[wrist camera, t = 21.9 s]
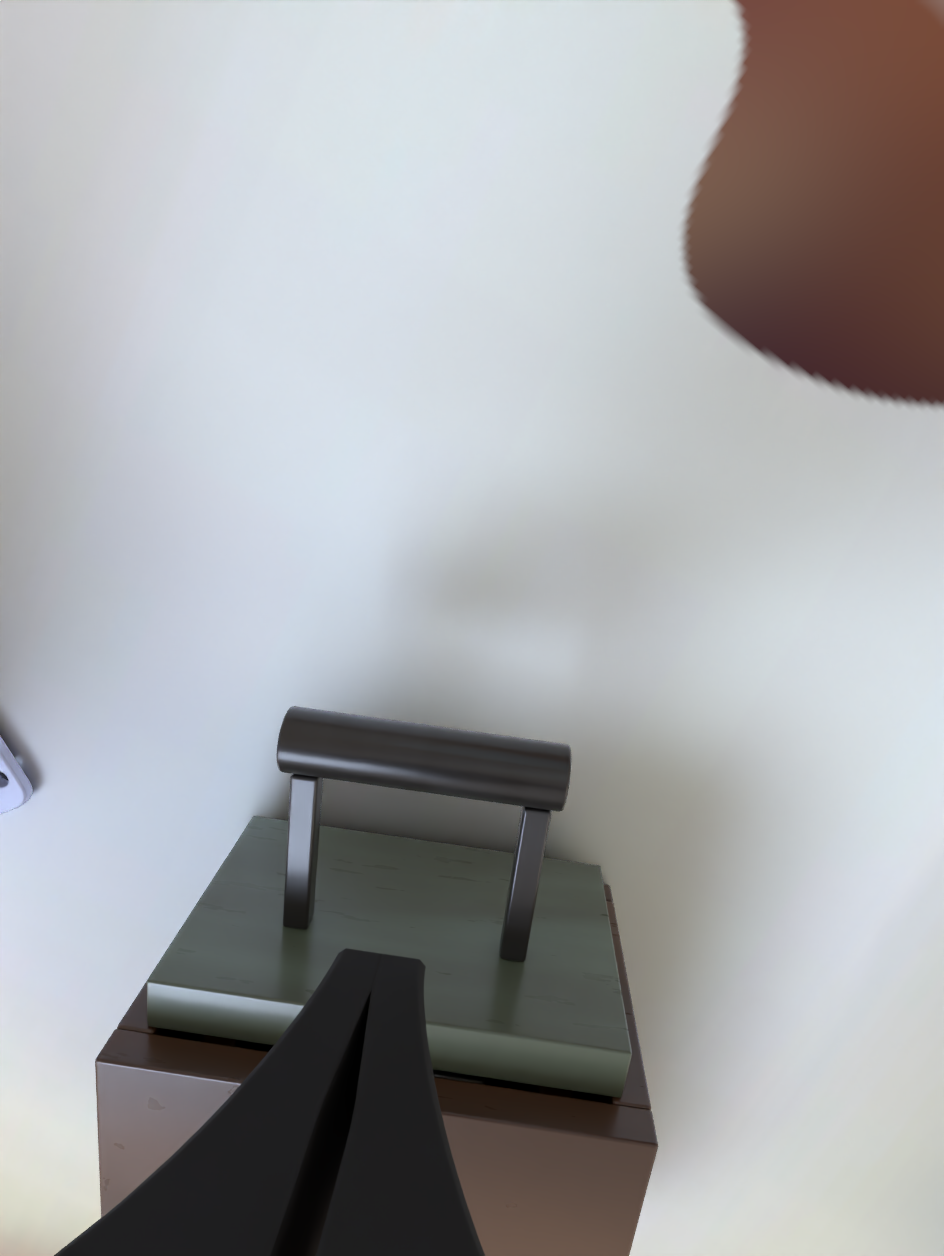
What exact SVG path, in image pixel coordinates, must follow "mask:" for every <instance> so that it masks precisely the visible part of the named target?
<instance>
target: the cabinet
mask: <svg viewBox="0 0 944 1256" xmlns="http://www.w3.org/2000/svg"><path fill="white" fill-rule="evenodd" d="M603 885H604V891H605V897H606V903H607V909H608V915H609V921H610V927H611V932H612V938H613V944H614V950H615V956H616V962H617V968H618V974H619V980H620V985H621V991H622V997H623V1003H624V1009H625V1015H626V1021H627V1027H628V1032H629V1038H630V1044H631V1050H632V1056H631V1061H630V1065H629V1069H628V1073H627V1077H626V1081H625V1086H624V1090H623V1094H622V1097H620V1098H618V1097H611V1096H604V1095H598V1094H591V1093H585V1092H578V1091H573V1096H574V1098H569V1097H562V1096H556V1095H549V1094H543V1093H536V1092H530V1091H523V1090H516V1089H510V1088H503V1087H497V1086H490V1085H483V1084H477V1083H470V1082H464V1081H457V1080H451V1079H444V1078H437V1077H434V1080H435V1086H436V1090H437V1095H438V1100H439V1105H440V1109H441V1113H442V1117H443V1121H444V1126H445V1130H446V1134H447V1138H448V1142H449V1145H450V1149H451V1153H452V1157H453V1160H454V1164H455V1167H456V1171H457V1174H458V1177H459V1180H460V1183H461V1187H462V1190H463V1193H464V1196H465V1200H466V1203H467V1206H468V1209H469V1211H470V1214H471V1217H472V1220H473V1223H474V1226H475V1229H476V1232H477V1235H478V1238H479V1241H480V1243H481V1246H482V1248H483V1251H484V1253H485V1256H629V1253H630V1250H631V1246H632V1242H633V1238H634V1235H635V1231H636V1227H637V1223H638V1220H639V1216H640V1212H641V1208H642V1205H643V1201H644V1197H645V1193H646V1190H647V1186H648V1182H649V1178H650V1175H651V1171H652V1167H653V1163H654V1160H655V1156H656V1152H657V1148H658V1142H657V1137H656V1132H655V1126H654V1121H653V1115H652V1112H651V1104H650V1099H649V1093H648V1088H647V1082H646V1077H645V1072H644V1066H643V1061H642V1055H641V1050H640V1044H639V1039H638V1034H637V1028H636V1023H635V1017H634V1012H633V1006H632V1001H631V995H630V990H629V985H628V979H627V974H626V968H625V963H624V957H623V952H622V947H621V941H620V936H619V930H618V925H617V919H616V914H615V908H614V903H613V899H612V894H611V889H610V886H609V885H605V884H603ZM202 1037H203V1034H196V1033H189V1032H183V1031H176V1030H170V1029H163V1028H156V1027H150V1026H148V1025H147V982H146V983H145V985H144V986H143V988H142V989H141V991H140V992H139V994H138V996H137V997H136V999H135V1000H134V1002H133V1003H132V1005H131V1006H130V1008H129V1010H128V1011H127V1013H126V1014H125V1016H124V1017H123V1019H122V1020H121V1022H120V1023H119V1025H118V1027H117V1029H116V1030H114V1032H113V1033H112V1035H111V1037H110V1038H109V1040H108V1041H107V1043H106V1044H105V1046H104V1047H103V1049H102V1050H101V1052H100V1054H99V1055H98V1057H97V1058H96V1061H95V1066H96V1092H97V1118H98V1144H99V1170H100V1196H101V1218H102V1217H103V1216H104V1215H106V1214H107V1213H108V1212H109V1211H110V1210H112V1209H113V1208H114V1207H115V1206H116V1205H118V1204H119V1203H120V1202H121V1201H122V1200H123V1199H124V1198H126V1197H127V1196H128V1195H129V1194H130V1193H131V1192H133V1191H134V1190H135V1189H136V1188H137V1187H138V1186H139V1185H140V1184H141V1183H142V1182H144V1181H145V1180H146V1179H147V1178H148V1177H149V1176H150V1175H151V1174H152V1173H153V1172H155V1171H156V1170H157V1169H158V1168H159V1167H160V1166H161V1165H162V1164H163V1163H164V1162H165V1161H167V1160H168V1159H169V1158H170V1157H171V1156H172V1155H173V1154H174V1153H175V1152H176V1151H177V1150H178V1149H179V1148H180V1147H181V1146H182V1145H183V1144H184V1143H185V1142H186V1141H187V1140H188V1139H189V1138H190V1137H191V1136H192V1135H194V1134H195V1133H196V1132H197V1131H198V1130H199V1129H200V1128H201V1127H202V1126H203V1125H204V1123H205V1122H206V1121H207V1120H208V1119H209V1118H210V1117H211V1116H212V1115H213V1114H214V1113H215V1112H216V1111H217V1110H218V1109H219V1108H220V1107H221V1106H222V1105H223V1104H224V1102H225V1101H226V1100H227V1099H228V1098H229V1097H230V1096H231V1095H232V1094H233V1093H234V1091H235V1090H236V1089H237V1088H238V1087H239V1086H240V1085H241V1083H242V1082H243V1081H244V1080H245V1079H246V1078H247V1077H248V1075H249V1074H250V1073H251V1072H252V1071H253V1070H254V1068H255V1067H256V1066H257V1065H258V1064H259V1063H260V1062H261V1060H262V1059H263V1058H264V1057H265V1056H266V1055H267V1053H268V1052H266V1051H260V1050H253V1049H247V1048H240V1047H234V1046H227V1045H220V1044H214V1043H207V1042H201V1039H202Z"/></svg>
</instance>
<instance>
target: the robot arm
mask: <svg viewBox="0 0 944 1256" xmlns="http://www.w3.org/2000/svg"><path fill="white" fill-rule="evenodd" d="M0 772H2V773H4V774H5V775H6V776H7V778H8V780H5V779H4V778H3V777H2V776H1V774H0V814H2V813H5V812H7V811H10V810H13V809H15V808H18V807H20V806H21V805H23V804H24V803H25V802H27V801H28V800H29V799H30V798H31V796H32V794H33V788H32V785H31V783H30V781H29V780H28V778H27V776H26V775H25V773H24V772H23V770H22V769H21V767H20V765H19V764H18V762H17V761H16V759H15V758H14V756H13V755H12V753H11V751H10V750H9V748H8V747H7V745H6V744H5V742H4V741H3V739H2V737H1V736H0ZM425 968H426V966H425V965H424V964H423V962H422V961H421V960H420V959H415V958H408V957H401V956H395V955H388V954H381V953H374V952H368V951H361V950H354V949H347V948H345V949H344V950H342V951H341V952H339V953H338V955H337V956H336V958H335V960H334V962H333V964H332V965H331V967H330V968H329V970H328V972H327V973H326V975H325V976H324V978H323V980H322V981H321V983H320V984H319V986H318V987H317V988H316V990H315V991H314V993H313V994H312V996H311V997H310V998H309V1000H308V1001H307V1003H306V1004H305V1005H304V1007H303V1008H302V1010H301V1011H300V1012H299V1014H298V1015H297V1016H296V1018H295V1019H294V1020H293V1021H292V1023H291V1024H290V1025H289V1027H288V1028H287V1029H286V1031H285V1032H284V1033H283V1034H282V1036H281V1037H280V1038H279V1040H278V1041H277V1042H276V1043H275V1045H274V1046H273V1047H272V1048H271V1050H270V1051H269V1052H268V1053H267V1055H266V1056H265V1057H264V1058H263V1059H262V1060H261V1062H260V1063H259V1064H258V1065H257V1066H256V1067H255V1068H254V1070H253V1071H252V1072H251V1073H250V1074H249V1075H248V1077H247V1078H246V1079H245V1080H244V1081H243V1082H242V1083H241V1085H240V1086H239V1087H238V1088H237V1089H236V1090H235V1091H234V1093H233V1094H232V1095H231V1096H230V1097H229V1098H228V1099H227V1100H226V1101H225V1102H224V1104H223V1105H222V1106H221V1107H220V1108H219V1109H218V1110H217V1111H216V1112H215V1113H214V1114H213V1115H212V1116H211V1117H210V1118H209V1119H208V1120H207V1121H206V1122H205V1123H204V1125H203V1126H202V1127H201V1128H200V1129H199V1130H198V1131H197V1132H196V1133H195V1134H194V1135H192V1136H191V1137H190V1138H189V1139H188V1140H187V1141H186V1142H185V1143H184V1144H183V1145H182V1146H181V1147H180V1148H179V1149H178V1150H177V1151H176V1152H175V1153H174V1154H173V1155H172V1156H171V1157H170V1158H169V1159H168V1160H167V1161H165V1162H164V1163H163V1164H162V1165H161V1166H160V1167H159V1168H158V1169H157V1170H156V1171H155V1172H153V1173H152V1174H151V1175H150V1176H149V1177H148V1178H147V1179H146V1180H145V1181H144V1182H142V1183H141V1184H140V1185H139V1186H138V1187H137V1188H136V1189H135V1190H134V1191H133V1192H131V1193H130V1194H129V1195H128V1196H127V1197H126V1198H124V1199H123V1200H122V1201H121V1202H120V1203H119V1204H118V1205H116V1206H115V1207H114V1208H113V1209H112V1210H110V1211H109V1212H108V1213H107V1214H106V1215H104V1216H103V1217H102V1218H101V1219H99V1220H98V1221H97V1222H96V1223H94V1224H93V1225H92V1226H91V1227H89V1228H88V1229H87V1230H86V1231H84V1232H83V1233H82V1234H81V1235H79V1236H78V1237H77V1238H75V1239H74V1240H73V1241H72V1242H70V1243H69V1244H68V1245H67V1246H65V1247H64V1248H63V1249H62V1250H60V1251H59V1252H58V1253H57V1254H55V1255H54V1256H485V1253H484V1251H483V1248H482V1246H481V1243H480V1241H479V1238H478V1235H477V1232H476V1229H475V1226H474V1223H473V1220H472V1217H471V1214H470V1211H469V1209H468V1206H467V1203H466V1200H465V1196H464V1193H463V1190H462V1187H461V1183H460V1180H459V1177H458V1174H457V1171H456V1167H455V1164H454V1160H453V1157H452V1153H451V1149H450V1145H449V1142H448V1138H447V1134H446V1130H445V1126H444V1121H443V1117H442V1113H441V1109H440V1105H439V1100H438V1095H437V1090H436V1086H435V1080H434V1074H433V1069H432V1063H431V1057H430V1051H429V1045H428V1038H427V1030H426V1019H425V1007H424V976H425Z"/></svg>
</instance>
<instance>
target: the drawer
mask: <svg viewBox="0 0 944 1256" xmlns="http://www.w3.org/2000/svg"><path fill="white" fill-rule="evenodd" d="M277 765H278V768H279V770H280V771H281V772H285V773H292V776H291V780H290V798H289V816H288V821H287V820H280V819H273V818H266V817H259V816H253V818H252V819H251V821H250V822H249V824H248V825H247V827H246V828H245V830H244V832H243V833H242V835H241V836H240V838H239V839H238V841H237V842H236V844H235V846H234V847H233V849H232V850H231V852H230V853H229V855H228V856H227V858H226V859H225V861H224V863H223V864H222V866H221V867H220V869H219V870H218V872H217V873H216V875H215V876H214V878H213V880H212V881H211V883H210V884H209V886H208V887H207V889H206V890H205V892H204V893H203V895H202V897H201V898H200V900H199V901H198V903H197V904H196V906H195V907H194V909H193V910H192V912H191V914H190V915H189V917H188V918H187V920H186V921H185V923H184V924H183V926H182V927H181V929H180V931H179V932H178V934H177V935H176V937H175V938H174V940H173V941H172V943H171V944H170V946H169V948H168V949H167V951H166V952H165V954H164V955H163V957H162V958H161V960H160V961H159V963H158V965H157V966H156V968H155V969H154V971H153V972H152V974H151V975H150V977H149V978H148V980H147V1025H148V1026H150V1027H156V1028H163V1029H170V1030H176V1031H183V1032H189V1033H196V1034H203V1037H202V1039H201V1042H207V1043H214V1044H220V1045H227V1046H234V1047H240V1048H247V1049H253V1050H260V1051H266V1052H269V1051H270V1050H271V1048H272V1047H273V1046H274V1045H275V1043H276V1042H277V1041H278V1040H279V1038H280V1037H281V1036H282V1034H283V1033H284V1032H285V1031H286V1029H287V1028H288V1027H289V1025H290V1024H291V1023H292V1021H293V1020H294V1019H295V1018H296V1016H297V1015H298V1014H299V1012H300V1011H301V1010H302V1008H303V1007H304V1005H305V1004H306V1003H307V1001H308V1000H309V998H310V997H311V996H312V994H313V993H314V991H315V990H316V988H317V987H318V986H319V984H320V983H321V981H322V980H323V978H324V976H325V975H326V973H327V972H328V970H329V968H330V967H331V965H332V964H333V962H334V960H335V958H336V956H337V955H338V953H339V952H341V951H342V950H344V949H345V948H347V949H354V950H361V951H368V952H374V953H381V954H388V955H395V956H401V957H408V958H415V959H420V960H421V961H422V962H423V964H424V965H425V966H426V968H425V976H424V1007H425V1019H426V1030H427V1038H428V1045H429V1051H430V1057H431V1063H432V1069H433V1070H440V1071H446V1072H453V1073H459V1074H466V1075H473V1076H479V1077H485V1080H484V1085H490V1086H497V1087H503V1088H510V1089H516V1090H523V1091H530V1092H536V1093H543V1094H549V1095H556V1096H562V1097H569V1098H574V1096H573V1091H578V1092H585V1093H591V1094H598V1095H604V1096H611V1097H618V1098H620V1097H622V1094H623V1090H624V1086H625V1081H626V1077H627V1073H628V1069H629V1065H630V1061H631V1056H632V1050H631V1044H630V1038H629V1032H628V1027H627V1021H626V1015H625V1009H624V1003H623V997H622V991H621V985H620V980H619V974H618V968H617V962H616V956H615V950H614V944H613V938H612V932H611V927H610V921H609V915H608V909H607V903H606V897H605V891H604V885H603V880H602V874H601V868H600V866H599V865H592V864H585V863H579V862H572V861H565V860H558V859H551V858H544V853H545V847H546V842H547V836H548V830H549V825H550V819H551V810H552V811H562V810H563V808H564V806H565V803H566V799H567V795H568V789H569V782H570V772H571V749H570V746H569V745H567V744H560V743H553V742H546V741H538V740H531V739H524V738H517V737H510V736H503V735H496V734H488V733H481V732H474V731H467V730H460V729H453V728H446V727H438V726H431V725H424V724H417V723H410V722H403V721H396V720H389V719H381V718H374V717H367V716H360V715H353V714H346V713H339V712H331V711H324V710H317V709H310V708H303V707H296V706H294V707H291V708H290V709H289V710H288V711H287V713H286V715H285V717H284V720H283V722H282V726H281V729H280V733H279V738H278V745H277ZM323 778H328V779H335V780H342V781H349V782H356V783H363V784H370V785H377V786H384V787H391V788H398V789H405V790H412V791H419V792H426V793H433V794H440V795H447V796H454V797H461V798H468V799H475V800H482V801H489V802H496V803H503V804H510V805H517V806H522V809H521V815H520V822H519V828H518V834H517V840H516V846H515V852H514V853H509V852H502V851H495V850H488V849H481V848H474V847H467V846H461V845H454V844H447V843H440V842H433V841H426V840H419V839H412V838H405V837H398V836H391V835H384V834H377V833H370V832H363V831H356V830H349V829H343V828H336V827H329V826H322V825H320V817H321V803H322V789H323Z"/></svg>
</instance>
